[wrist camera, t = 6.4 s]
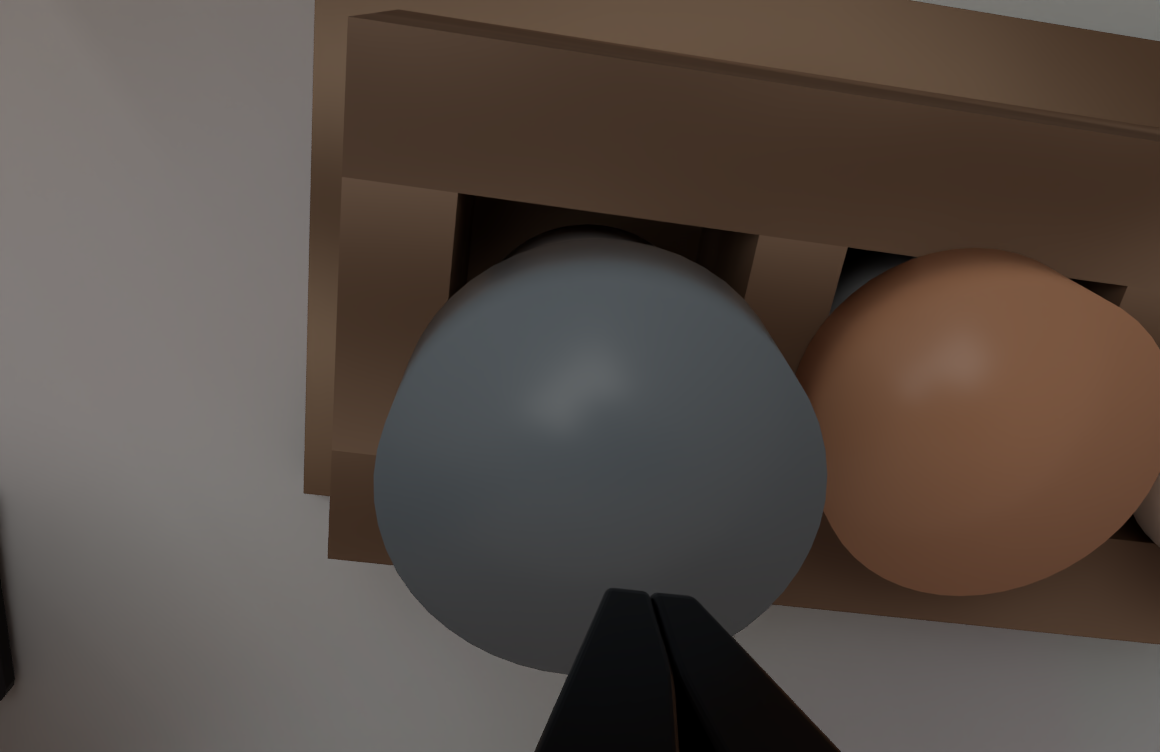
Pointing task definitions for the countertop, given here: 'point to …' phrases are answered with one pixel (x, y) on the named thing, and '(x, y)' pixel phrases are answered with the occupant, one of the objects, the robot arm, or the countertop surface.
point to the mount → (721, 199)
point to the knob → (595, 448)
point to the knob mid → (979, 418)
